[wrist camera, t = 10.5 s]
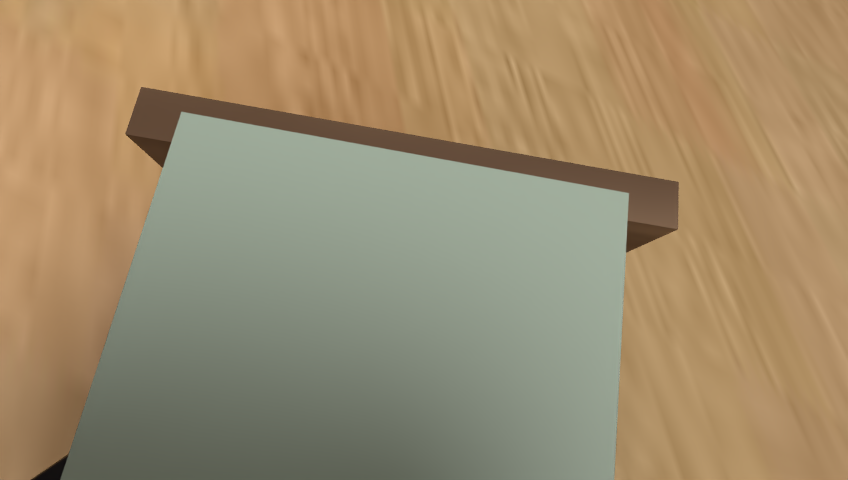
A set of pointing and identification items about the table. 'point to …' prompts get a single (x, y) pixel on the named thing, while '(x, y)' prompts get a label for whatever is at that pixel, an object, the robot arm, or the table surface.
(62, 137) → the table surface
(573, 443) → the pale green rectangular block
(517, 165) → the wooden display stand
